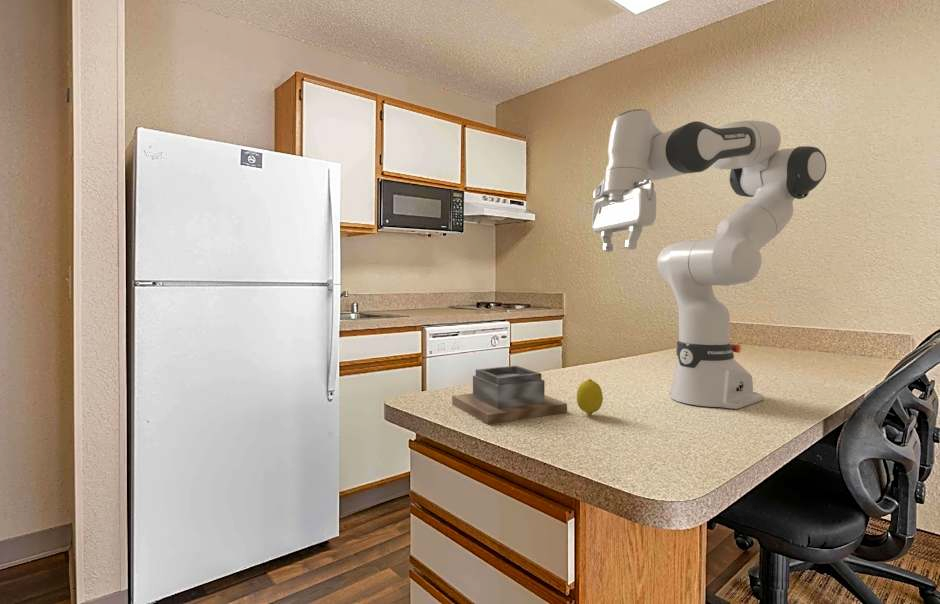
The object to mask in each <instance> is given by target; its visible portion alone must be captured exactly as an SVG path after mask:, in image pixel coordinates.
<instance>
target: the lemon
mask: <svg viewBox="0 0 940 604" xmlns="http://www.w3.org/2000/svg"><path fill="white" fill-rule="evenodd" d="M603 401H604V397H603V390H602V388H601V386H600V385H599V384H598V383H597V382H596V381H594V380H592V378H588V379H587V380H584V381H583V382H581V383H580V384H579V386H578V388H577V392H576V403H577V406H578V407H579V409H581V411H583V412H584V413H586V414H587V416H592V415H593V414H594V413H597V412H598V411H599V410H600V409H601V407H602V405H603Z"/></svg>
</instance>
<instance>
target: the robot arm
mask: <svg viewBox="0 0 940 604" xmlns="http://www.w3.org/2000/svg"><path fill="white" fill-rule="evenodd" d="M781 140H782V137H781V133H780V130H779V129H778V127H776V125H774V124H773V123H771V122H767V121H763V120H762V121H761V120H740V121H739V120H738V121H734V122H730V123H726V124H723V125H721V126H718V127H715V126H712V125H709V124H708V123H705V122H703V121H697V120H696V121H692V122H689V123H686V124H684V125H681V126H679V127H678V128H674V129H671V130H668V131H664V132H663V131H661V130H660V129H659V128H658V127H657V125H656V124H655V123H654V121H653V119H652V113H651V111H650V110H646V109H641V108H639V109H631V110H627V111H625V112H622V113H620V114H619V115H617V116H615V118H614V120H613V122H612V124H611V127H610V133H609V137H608V145H607V156H608V157H607V158H608V163H607V166H606V169H605V174H604V178H603V179H602V180H601V182H600V183H599V185H597V187H596V188H594V190H593V195H592V197H593V199H595V200H594V203H593V207H592V215H591V228H592V231H593V233H597V234H600V239H601V242H602V251H603V252H604V253H612V252H613V250H614V249H613V248H614V243H612V237H613V233H618V232H622V231H629V235H628V237H627V239H626V240H625V243H624V244H625V245H624V248H625V250H635V249H637V247H638V246H637V245H638V241H639V239H640V236H641V235H642V231H643V228H644V227H647V226H648V227H649V226H653V225H654V223H655V221H656V217H657V193H656V191H655V184H654V183H653V181H659V180H665V179H667V178H674V177H679V176H682V175H687V174H694V173H701V172H702V173H703V172H704V171H706V170H708V169H709V168H710V167H714V168H716V169H719V170H730V173H729V185H730V187H731V189H732V190H733V191H734V193H735V194H736V195H738V196H740V197H747V198H751V199H750V200H749V201H748V202H747V203H744V205H742V206H741V207H739V208H738V209H736V210H735V211H733V213H731V214H730V215H729V216H727V217H726V218H724V219H723V220H721V222H719V224H718V225H717V227H716V236H713V237H710V238H704V239H691V240H682V241H678V242H675V243H672V244H669V245H667V246H665V247H664V248H662V249H661V250H660V253H659V254H658V257H657V260H656V266H657V267H656V268H657V272H658V273H659V275H660V277H661V278H662V279H663V280H664V281H666V283H667V284H668V285H669V287H670V289H671V292H672V293H673V295H674V298H675V303H676V306H677V310H678V340H677V341H676V346H675V349H676V356H677V360H676V361H675V363H674V364H675V365H674V371H673V379H672V386H671V387H670V388H669V393H670V398H671V399H672V400H675V401H676V402H679V403H683V404H687V405H692V406H698V407H699V406H701V407H708V408H710V407H711V408H723V409H724V408H725V409H735V410H736V409H737V410H738V409H741V408H744V407H748V406H749V405H753V404H756V403H758V402H761V401H764V400H765V395H763V394H761V393H758V392H757V391H754V389H753V388H754V382H753V376H752V374H751V373H750V372H749V371H748V370H747V369H745V368H744V367H743V366H742V365H741V364H740V363H739V362H738V361H737V360H736V359H735V355H734V353H737V354H738V353H741V351H742V346H741V344H739V343H738V344H736V343H730V323H731V322H730V321H731V319H730V316H731V315H730V311H729V309H728V307H726V306H725V305H724V304H723V303H722V302H720V301H719V300H718V299H717V297H716V295H715V293H714V290H713V286H724V287H725V286H727V287H728V286H734V285H740V284H743V283H749V282H750V281H753V280H754V279H755V278H756V276H757V275H758V273H759V271H760V270H761V268H762V254H761V251H760V250H761V249H762V248H763V247H765V246H766V245H767V244H769V243H770V242H771V241H773V239H774V238H775V237H778V235H779V234H780V233H781V232H782V231H783V229H785V228H786V226H787V225H788V224H789V222H790V221H791V219H792V218H793V215H794V206H793V202H794V200H795V199H797V200H802V199H804V198H807V197H808V196H809V193H810V192H812V190H814V189H815V188H817V186H818V185H819V184H820V183H821V182H822V180H823V179H824V177H825V176H826V173H827V172H826V171H827V160H826V157H825V154H824V153H823V152H822V150H821V149H820V148H818V147H816V146H804V145H803V146H802V145H801V146H798V147H793V148H791V147H790V148H783V149H780V146H781Z"/></svg>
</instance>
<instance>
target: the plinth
mask: <svg viewBox="0 0 940 604" xmlns="http://www.w3.org/2000/svg"><path fill="white" fill-rule="evenodd" d="M545 386H546V385H545V380H544V379H542V373H540V372H537V371H535V370H532V369H528V368H524V367H521V366H518V365H509V366H508V365H507V366H498V367H488V368H477V369H475V374H474V375H472V392H471V393H464V394H457V395H456V394H455V395H451V397H452V398H451V399H452V400H451V405H454V406H455V407H456V408H458V409H460V410H462V411H464V412H466V413H467V414H469V415H471V416H473V418H474V417H475V419H478V420H479V421H481V422H483V423H484V424H486V425H492V424H500V423H507V422H512V421H520V420H526V419H533V418H539V417H546V416H552V415H558V414H563V413H564V414H565V413H567V412H568V403H566V402H563V400H558V399H556V398H553V397H551V396H548V395H546V394H545Z"/></svg>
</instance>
